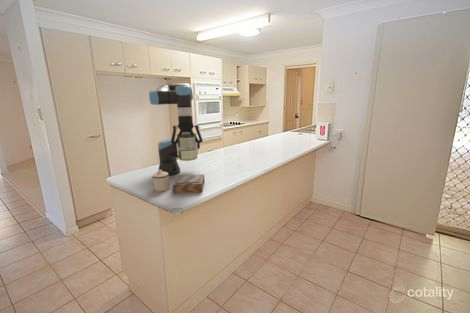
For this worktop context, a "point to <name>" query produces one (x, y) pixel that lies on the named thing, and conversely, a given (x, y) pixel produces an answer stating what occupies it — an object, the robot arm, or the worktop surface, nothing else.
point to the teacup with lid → (161, 181)
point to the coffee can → (187, 147)
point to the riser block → (188, 183)
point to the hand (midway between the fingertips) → (188, 154)
